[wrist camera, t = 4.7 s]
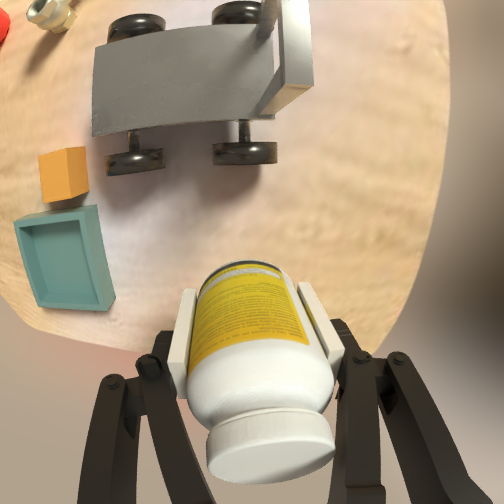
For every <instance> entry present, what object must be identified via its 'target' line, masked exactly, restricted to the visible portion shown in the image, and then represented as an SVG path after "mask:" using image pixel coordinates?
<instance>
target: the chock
mask: <svg viewBox="0 0 504 504" xmlns="http://www.w3.org/2000/svg"><path fill="white" fill-rule="evenodd" d="M38 159H39V171H40V180H41V188H42V196H43V202H44V203H48V202H53V201H58V200H64V199H70V198H73V197H75V196H78V195H80V194H83V193H85V192H88V191H89V184H88V175H87V164H86V151H85V146H84V147H72V148H65V149H61V150H58V151H54V152H51V153H47V154H44V155H41V156H38Z"/></svg>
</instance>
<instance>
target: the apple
mask: <svg viewBox="0 0 504 504" xmlns="http://www.w3.org/2000/svg"><path fill="white" fill-rule="evenodd" d="M9 25H10V19H9V15H8V14H7V13H6V12H5V11H4V10H3V9H1V8H0V42H1V41H2V40H3V39H4V38H5V36H6V33H7V30H8V27H9Z"/></svg>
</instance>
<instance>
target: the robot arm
mask: <svg viewBox="0 0 504 504" xmlns="http://www.w3.org/2000/svg"><path fill="white" fill-rule="evenodd" d="M297 293H298V296H299V298H300V300H301V302H302V305H303V307H304V309H305V311H306V313H307V316H308V318H309V320H310V322H311V324H312V327H313V329H314V331H315V333H316V335H317V338H318V340H319V342H320V344H321V346H322V349H323V351H324V353H325V355H326V358H327V360H328V362H329V364H330V367H331V370H332V373H333V377H334V386H335V383H336V380H338V383H339V389H338V391H337V395H336V398H335V399H337V398H338V400H337V421H336V436H335V446H336V453H335V455H334V460H333V469H332V477H331V485H330V492H329V499H328V503H327V504H386V490H385V487H384V486H383V485H381V480H380V479H381V455H380V428H379V413H378V405H379V408H380V411H381V413H382V416H383V419H384V422H385V424H386V427H387V430H388V432H389V435H390V438H391V441H392V444H393V447H394V450H395V453H396V456H397V459H398V462H399V465H400V468H401V471H402V474H403V477H404V481H405V484H406V487H407V491H408V494H409V497H410V501H411V503H412V504H493V502H492V501H491V499H490V498H489V497H488V496H487V495H486V494H485V493H484V492H483V491H482V490H481V489H480V488H479V487H478V486H477V485H476V483H474V481H473V480H471V479H470V477H469V476H468V473H467V471H466V468H465V466H464V463H463V461H462V459H461V456H460V454H459V452H458V450H457V447H456V445H455V443H454V441H453V439H452V437H451V434H450V432H449V430H448V428H447V426H446V424H445V422H444V420H443V418H442V416H441V414H440V412H439V410H438V408H437V406H436V404H435V403H434V401H433V399H432V397H431V395H430V393H429V391H428V390H427V388H426V386H425V384H424V382H423V380H422V379H421V377H420V375H419V374H418V372H417V370H416V368H415V367H414V365H413V363H412V361H411V360H410V358H409V357H408V356H407V355H406V354H405V353H402V352H392V353H390V354H389V355H388V357H387V359H382V358H372V356H371V355H370V354H369V353H368V352H366V351H363V350H361V348H360V347H359V345H358V343H357V341H356V340H355V338H354V336H353V335H352V333H351V331H350V330H349V328H348V326H347V325H346V323H345V322H343V321H342V320H341V319H332V320H329V318H328V316H327V314H326V312H325V310H324V308H323V307H322V305H321V303H320V301H319V299H318V298H317V296H316V294H315V292H314V290H313V288H312V287H311V285H310V283H309V282H300V283H297ZM196 306H197V293H196V288H192V289H184V291H183V295H182V299H181V304H180V308H179V312H178V316H177V320H176V324H175V329H174V331H161V332H160V333H159V334H158V335H157V336H156V339H155V344H154V346H153V350H152V353H151V354H146V355H143V356H141V357H140V358H138V360H137V361H136V365H135V366H136V368H137V371H138V374H139V376H138V377H135V378H130V379H124V378H123V376H121V375H119V374H110V375H108V376H106V377H104V378H103V379H102V381H101V383H100V387H99V390H98V394H97V398H96V402H95V406H94V410H93V414H92V418H91V422H90V427H89V431H88V436H87V441H86V446H85V451H84V457H83V463H82V470H81V476H80V483H79V491H78V500H77V504H136V482H137V459H138V444H139V432H140V421H141V416H143V415H147V417H148V422H149V426H150V430H151V435H152V439H153V443H154V446H155V451H156V454H157V458H158V461H159V465H160V468H161V471H162V475H163V478H164V481H165V484H166V487H167V490H168V493H169V496H170V499H171V502H172V504H216V502H215V500H214V497H213V495H212V493H211V491H210V489H209V487H208V484H207V482H206V480H205V477H204V475H203V473H202V470H201V468H200V466H199V463H198V460H197V458H196V455H195V453H194V450H193V448H192V445H191V442H190V439H189V437H188V434H187V431H186V428H185V425H184V422H183V420H182V417H181V413H180V410H179V407H178V404H177V401H176V396H177V395H178V397H179V398H180V399H187V396H186V389H187V378H188V370H189V360H190V351H191V343H192V336H193V328H194V320H195V313H196Z"/></svg>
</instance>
